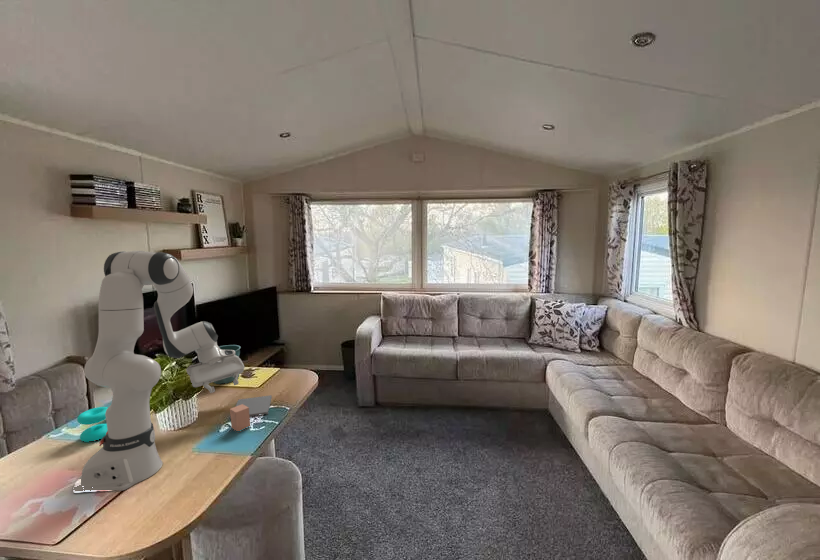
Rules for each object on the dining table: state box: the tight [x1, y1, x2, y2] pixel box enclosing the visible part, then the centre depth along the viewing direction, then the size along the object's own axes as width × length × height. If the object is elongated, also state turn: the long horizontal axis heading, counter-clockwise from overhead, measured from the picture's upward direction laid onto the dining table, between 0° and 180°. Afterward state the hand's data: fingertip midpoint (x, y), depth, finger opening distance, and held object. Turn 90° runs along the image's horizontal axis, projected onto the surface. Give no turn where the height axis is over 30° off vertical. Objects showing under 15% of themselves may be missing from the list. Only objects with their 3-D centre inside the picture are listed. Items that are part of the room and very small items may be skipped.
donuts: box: [76, 406, 109, 443], centre depth 145 cm, size 10×10×10 cm
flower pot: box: [213, 344, 242, 385], centre depth 198 cm, size 16×16×16 cm
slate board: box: [235, 395, 273, 417], centre depth 166 cm, size 14×17×1 cm
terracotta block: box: [229, 404, 251, 432], centre depth 148 cm, size 5×5×8 cm
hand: (225, 387), depth 154 cm, fingers open, 8 cm apart
